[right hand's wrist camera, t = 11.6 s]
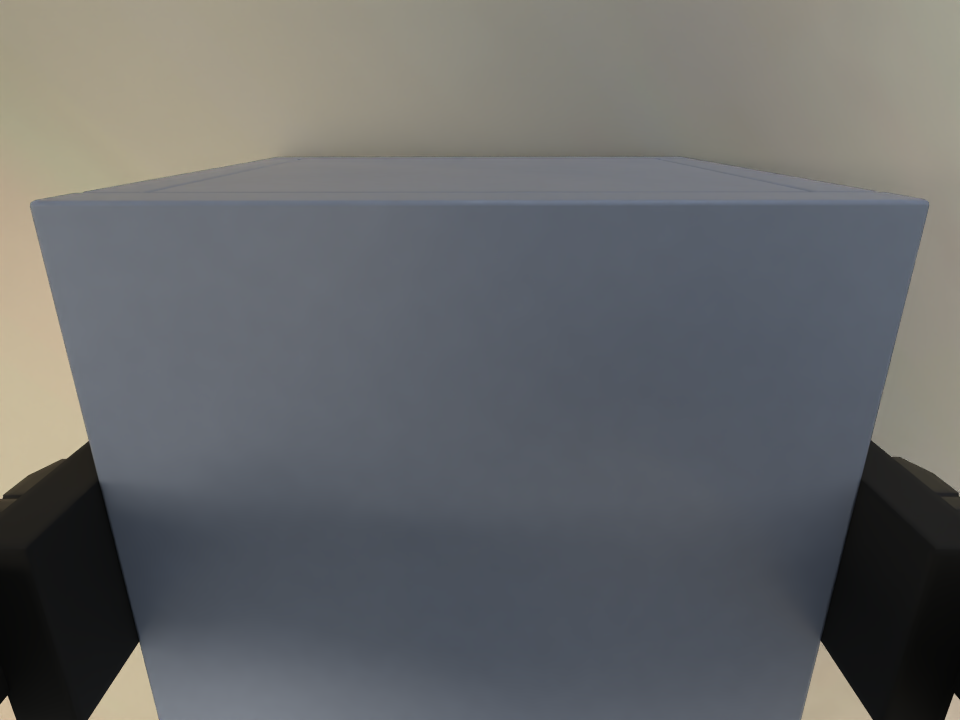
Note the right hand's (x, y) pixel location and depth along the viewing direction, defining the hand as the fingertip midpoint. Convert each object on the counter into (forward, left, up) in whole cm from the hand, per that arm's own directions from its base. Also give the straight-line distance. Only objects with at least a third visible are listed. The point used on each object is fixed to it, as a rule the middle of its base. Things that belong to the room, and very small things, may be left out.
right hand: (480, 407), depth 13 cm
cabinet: (+1, -5, -4) cm, 7 cm away
